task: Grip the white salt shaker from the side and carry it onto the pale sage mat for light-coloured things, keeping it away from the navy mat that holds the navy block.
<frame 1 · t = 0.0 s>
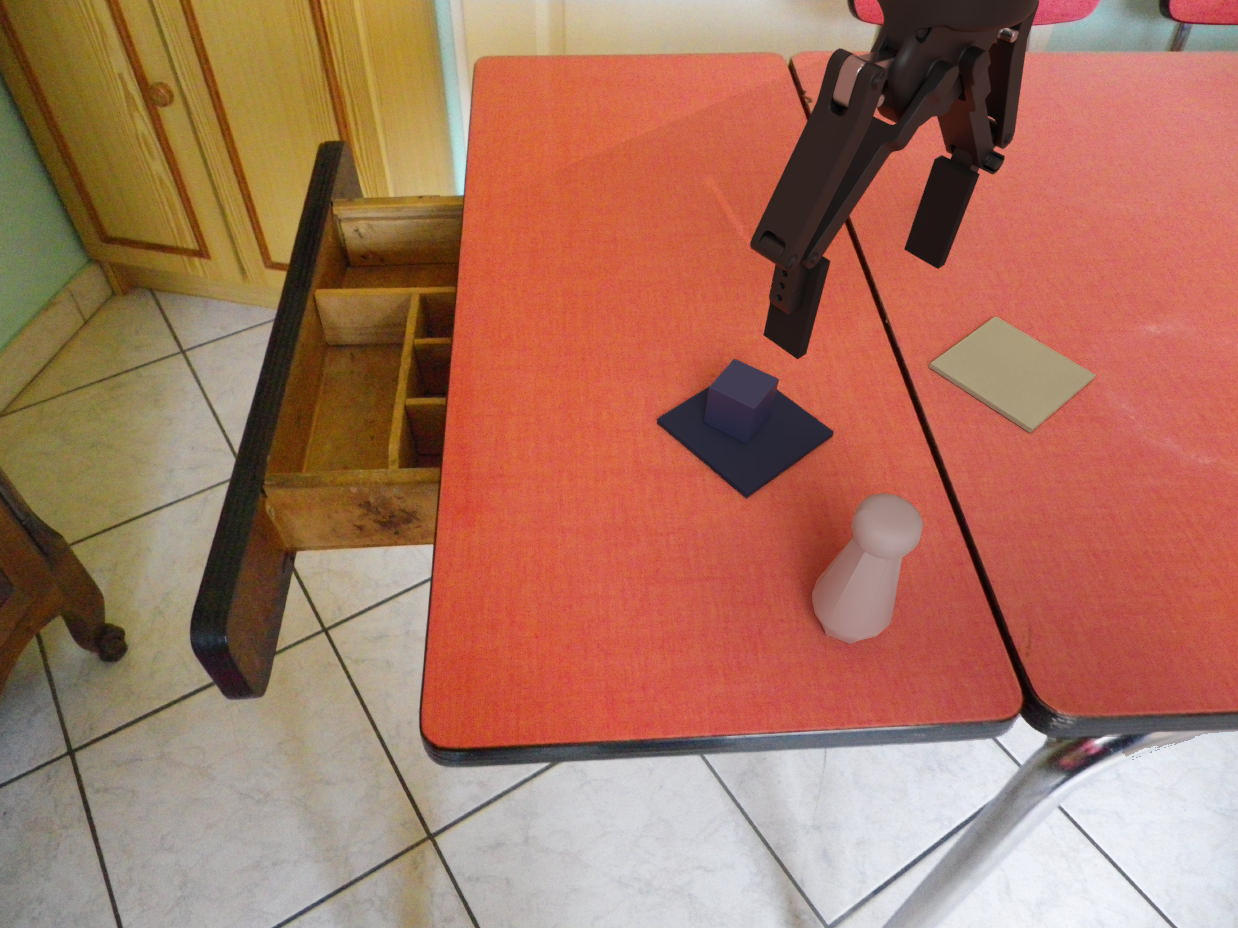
hand: (858, 299, 53), 22 cm above the table, tool pointing down, fingers open, 13 cm apart
light mat: (1010, 373, 81), on the table
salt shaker: (844, 619, 63), on the table
dark mat: (744, 429, 75), on the table
beer can: (932, 230, 96), on the table
navy block: (737, 418, 75), point 1 cm above the table, touching dark mat
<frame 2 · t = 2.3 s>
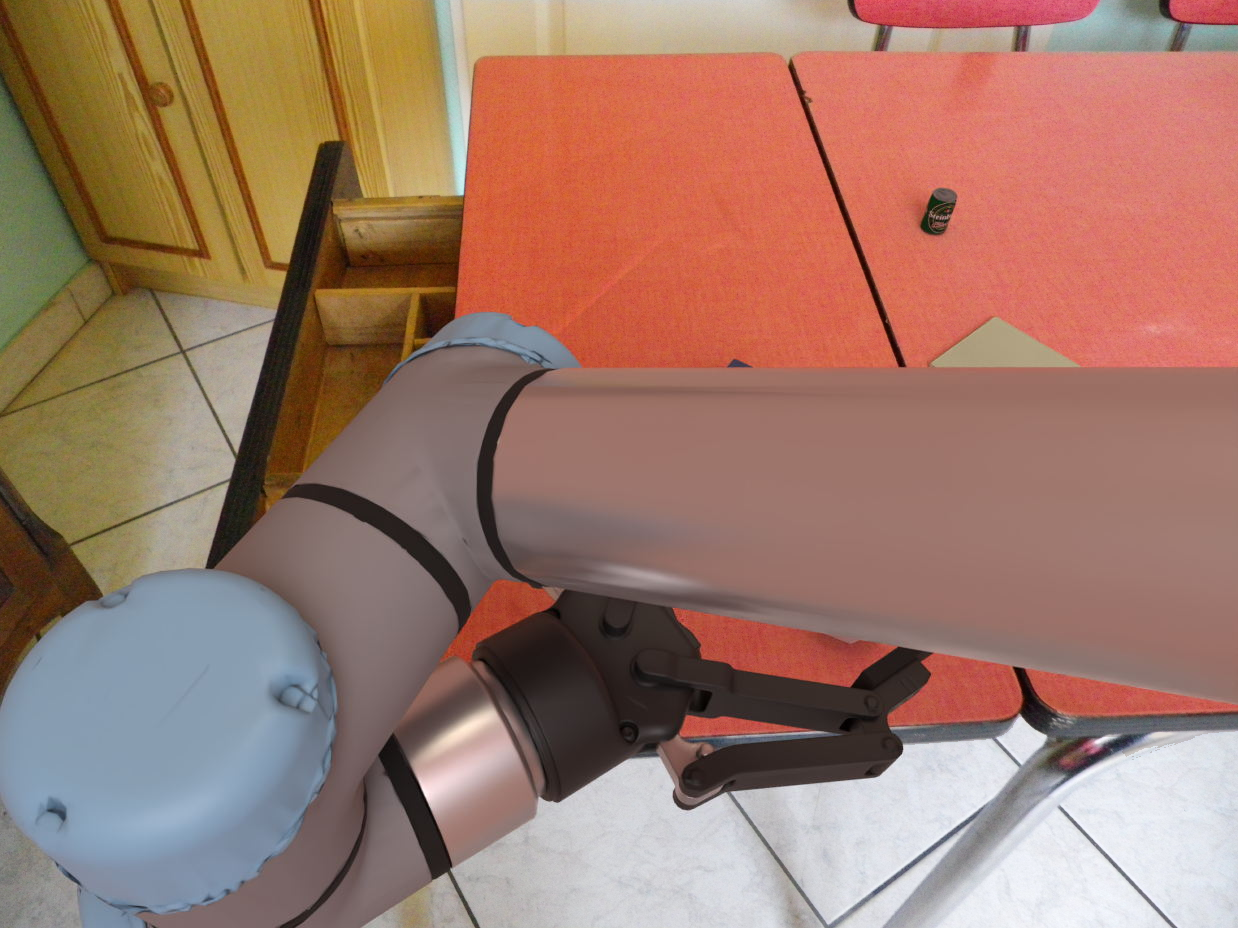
hand: (858, 525, 45), 19 cm above the table, tool horizontal, fingers open, 13 cm apart
nothing on the table moved.
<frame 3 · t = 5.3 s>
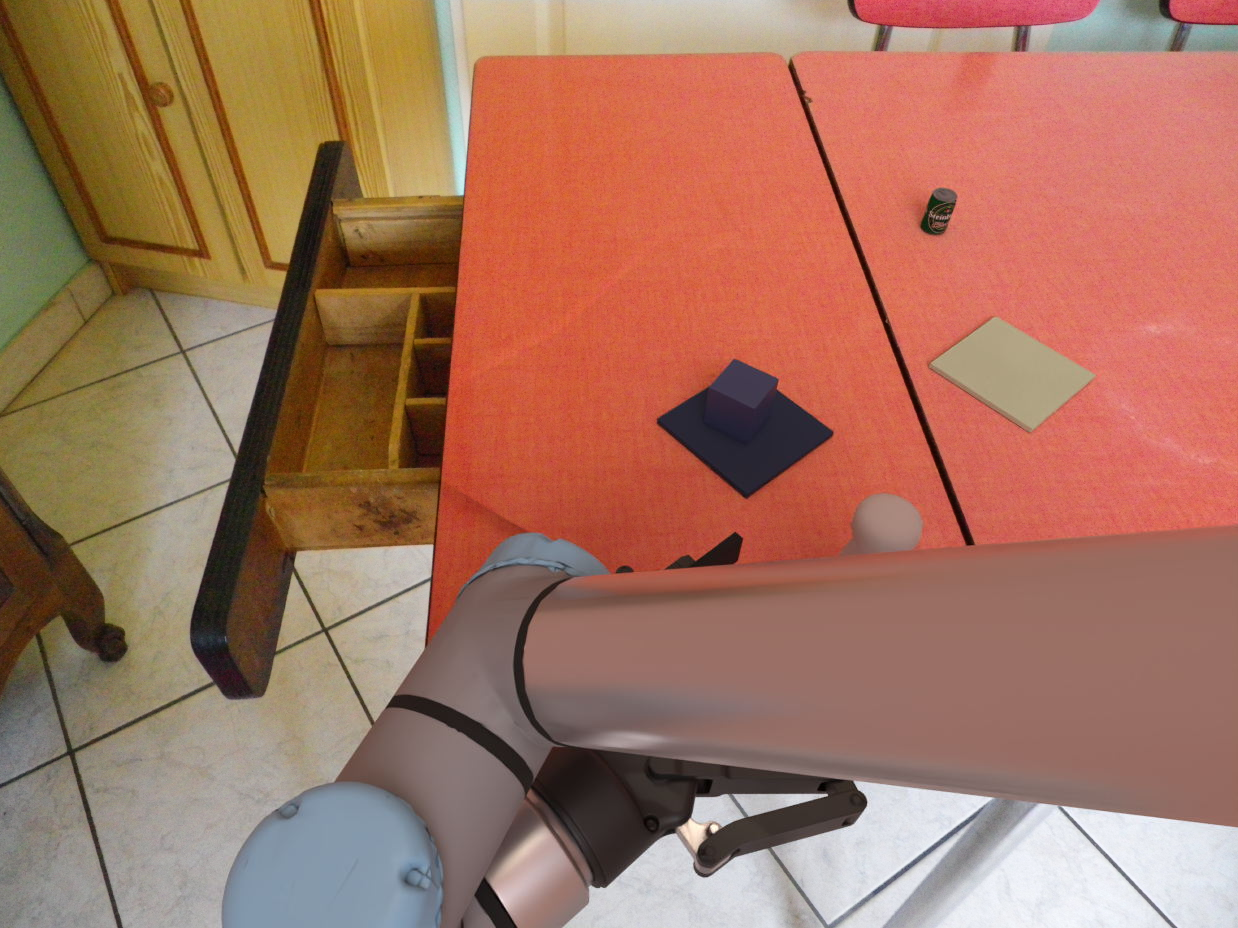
hand: (812, 612, 55), 7 cm above the table, tool horizontal, fingers open, 13 cm apart
nothing on the table moved.
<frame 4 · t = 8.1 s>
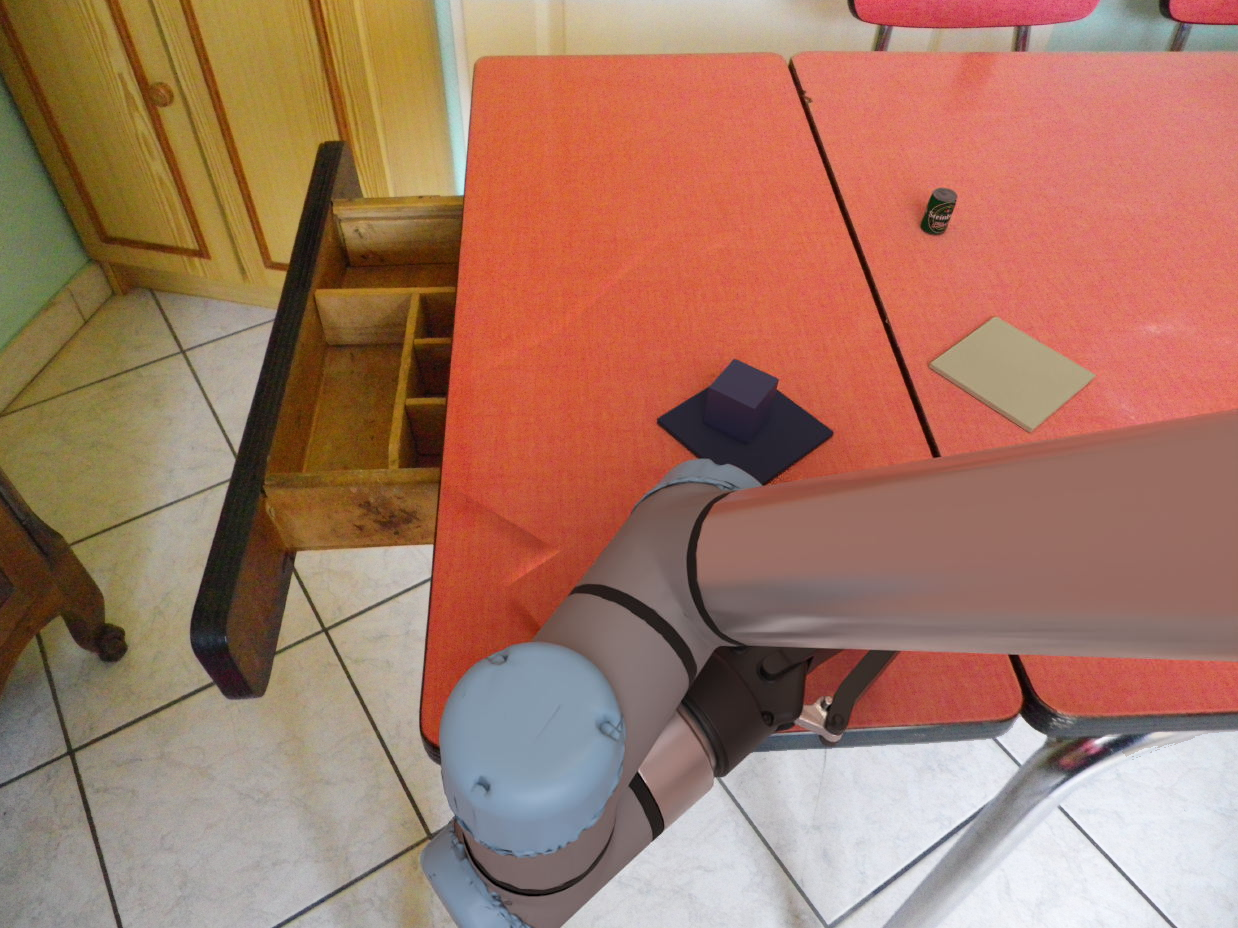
hand: (918, 523, 60), 7 cm above the table, tool horizontal, fingers closed on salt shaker, 3 cm apart
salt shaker: (844, 619, 63), on the table, touching gripper
everything else where it was.
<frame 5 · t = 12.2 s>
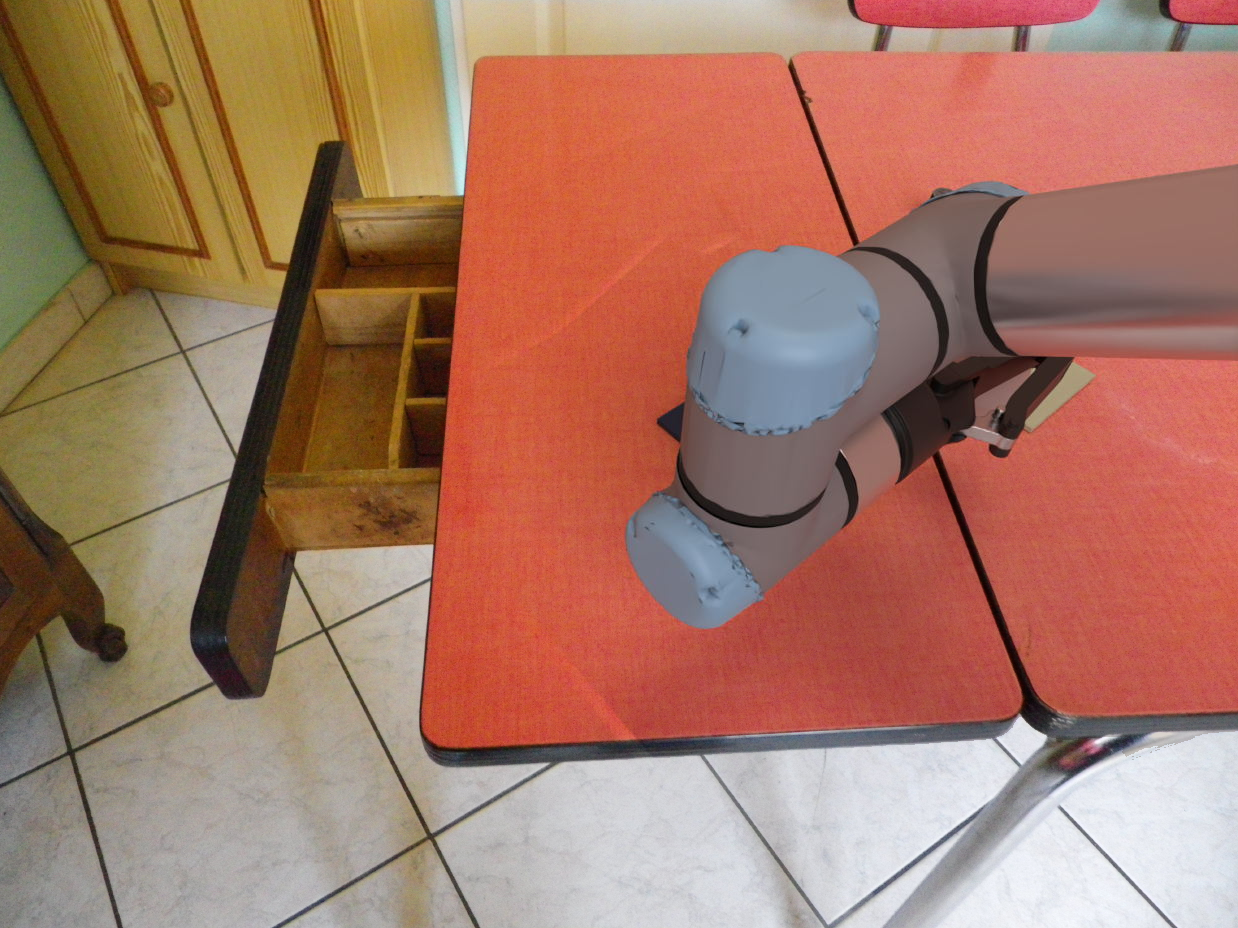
hand: (1059, 282, 61), 18 cm above the table, tool horizontal, fingers closed on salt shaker, 3 cm apart
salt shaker: (973, 403, 65), point 9 cm above the table, touching gripper
everything else where it was.
when the fingers open (10 cm above the table, at t = 16.7 s): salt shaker stays where it is, resting on light mat.
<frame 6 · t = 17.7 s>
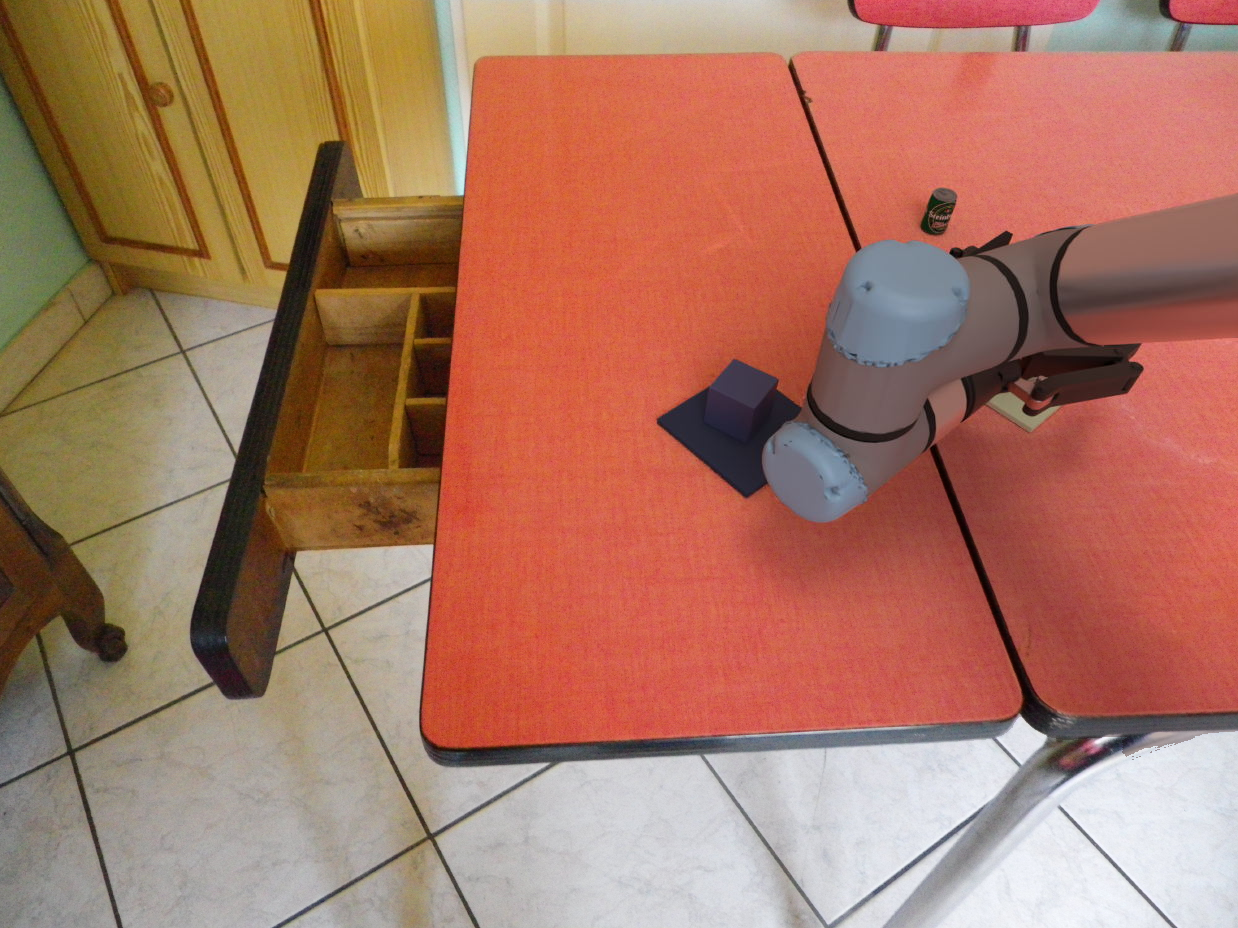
hand: (1071, 280, 75), 9 cm above the table, tool horizontal, fingers open, 13 cm apart
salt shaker: (1012, 369, 80), resting on light mat
everything else where it was.
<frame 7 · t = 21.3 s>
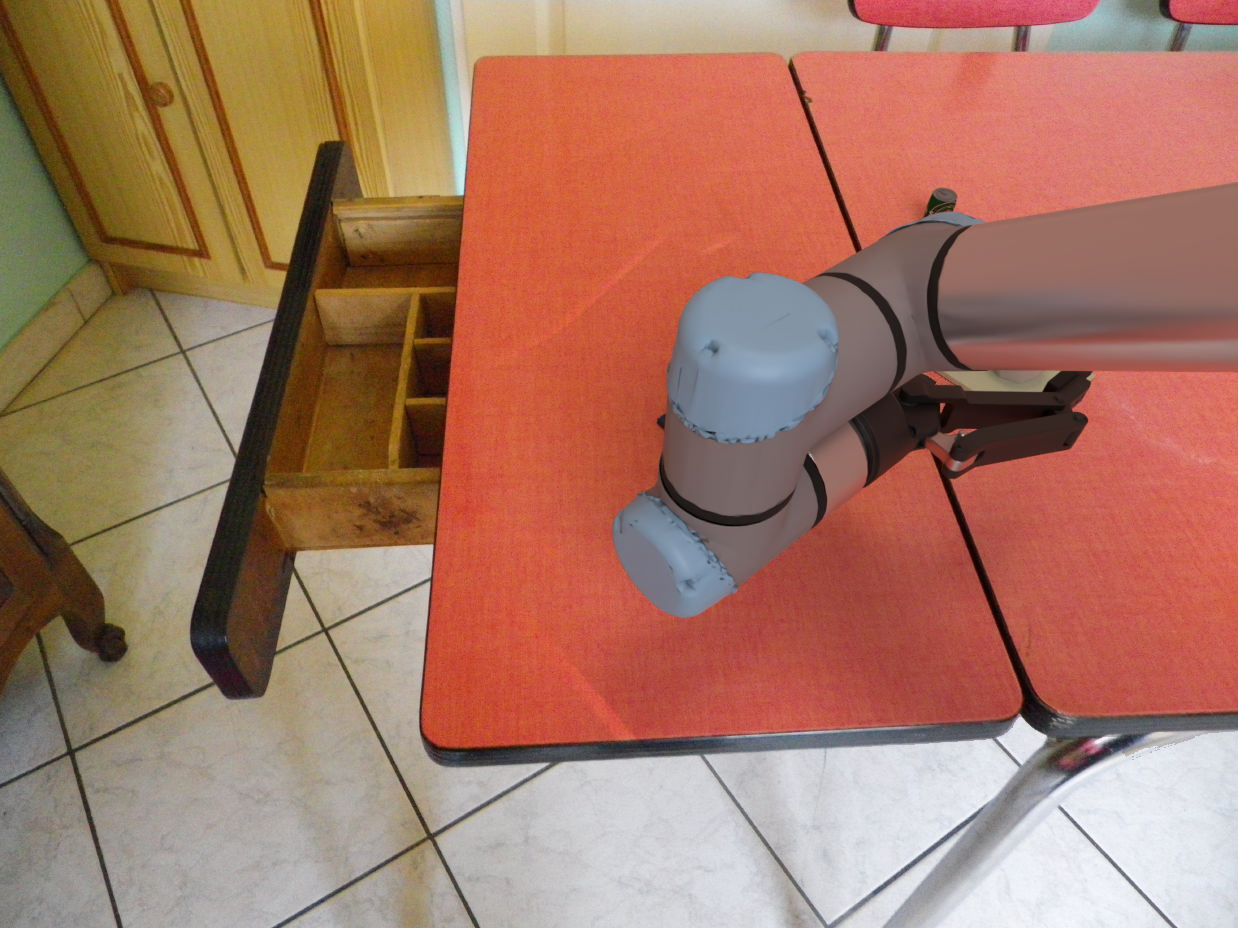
hand: (1011, 310, 64), 15 cm above the table, tool horizontal, fingers open, 13 cm apart
nothing on the table moved.
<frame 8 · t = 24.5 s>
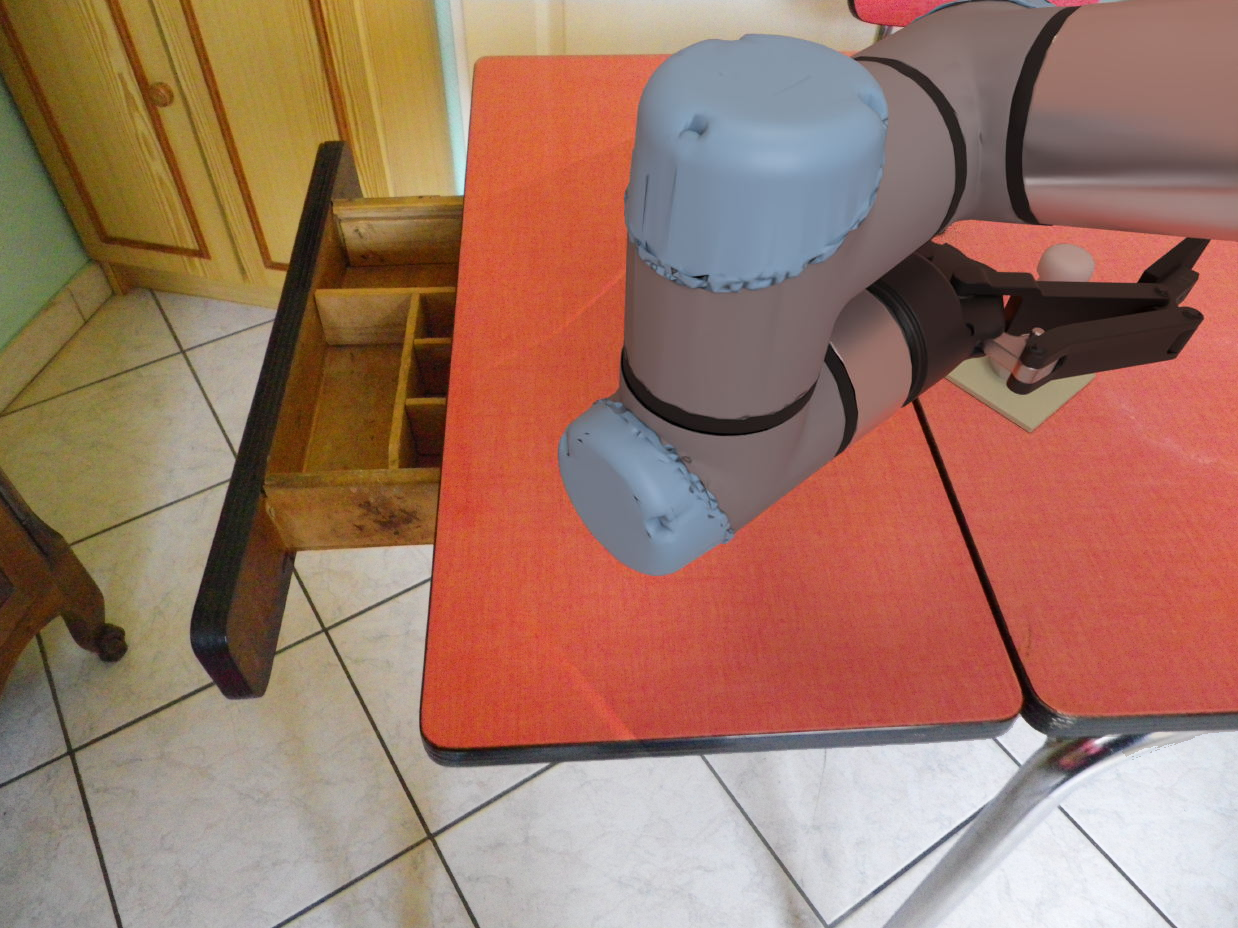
hand: (1083, 193, 50), 28 cm above the table, tool horizontal, fingers open, 13 cm apart
nothing on the table moved.
at the end: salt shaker inside the target area on the light mat (0.0 cm from its centre), point 0.4 cm above the light mat's base; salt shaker tilted 0°; the gripper is holding nothing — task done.
